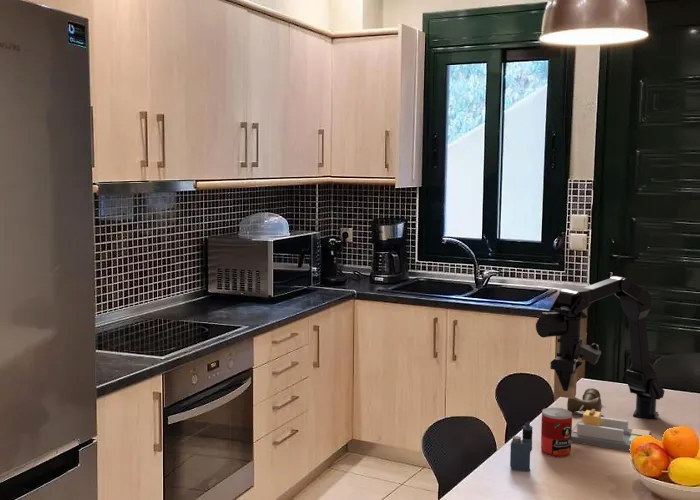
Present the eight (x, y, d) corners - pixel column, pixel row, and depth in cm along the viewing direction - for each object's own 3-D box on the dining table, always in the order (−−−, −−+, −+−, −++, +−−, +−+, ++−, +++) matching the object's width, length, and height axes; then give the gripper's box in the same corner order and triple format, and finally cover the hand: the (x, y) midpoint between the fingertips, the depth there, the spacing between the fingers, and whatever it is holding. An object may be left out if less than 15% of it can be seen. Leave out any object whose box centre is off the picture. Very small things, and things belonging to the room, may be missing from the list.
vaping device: (531, 472, 198) (533, 425, 197) (509, 470, 199) (511, 423, 198) (531, 468, 201) (532, 421, 199) (510, 466, 202) (511, 420, 200)
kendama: (608, 406, 254) (596, 422, 236) (577, 403, 258) (563, 418, 240) (608, 387, 253) (596, 402, 236) (577, 384, 258) (563, 399, 240)
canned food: (554, 459, 207) (556, 418, 205) (534, 449, 214) (535, 409, 212) (577, 454, 210) (578, 414, 209) (556, 445, 217) (557, 405, 216)
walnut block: (561, 393, 229) (562, 369, 228) (575, 395, 227) (577, 371, 226) (558, 396, 225) (559, 372, 225) (573, 398, 224) (574, 374, 223)
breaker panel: (578, 426, 233) (578, 411, 232) (651, 437, 223) (652, 421, 223) (567, 441, 220) (568, 425, 220) (644, 453, 211) (645, 437, 211)
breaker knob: (585, 427, 227) (586, 407, 226) (600, 429, 225) (601, 409, 225) (582, 432, 223) (583, 412, 222) (597, 434, 221) (597, 414, 220)
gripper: (593, 344, 213) (590, 401, 214) (605, 332, 229) (602, 385, 231) (551, 339, 218) (548, 395, 219) (565, 327, 234) (563, 380, 236)
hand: (567, 389), depth 226 cm, fingers closed on walnut block, 4 cm apart
